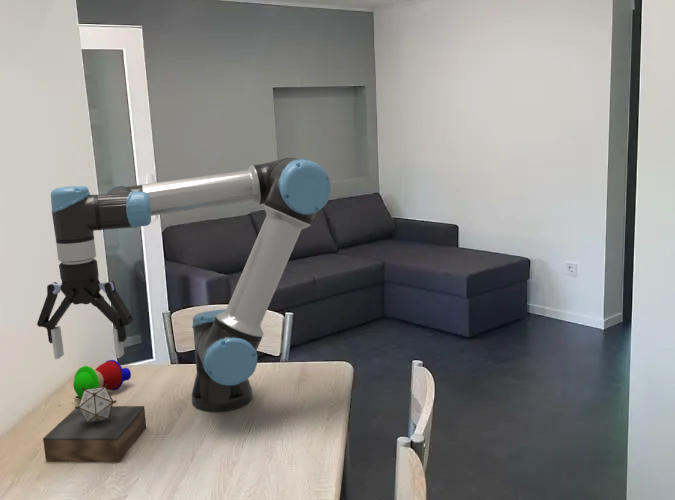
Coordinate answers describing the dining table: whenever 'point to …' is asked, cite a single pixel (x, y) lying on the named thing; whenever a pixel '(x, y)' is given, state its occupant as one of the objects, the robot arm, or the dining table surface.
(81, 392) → the toy figure
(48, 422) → the dining table surface
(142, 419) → the dark gray square base
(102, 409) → the game die
